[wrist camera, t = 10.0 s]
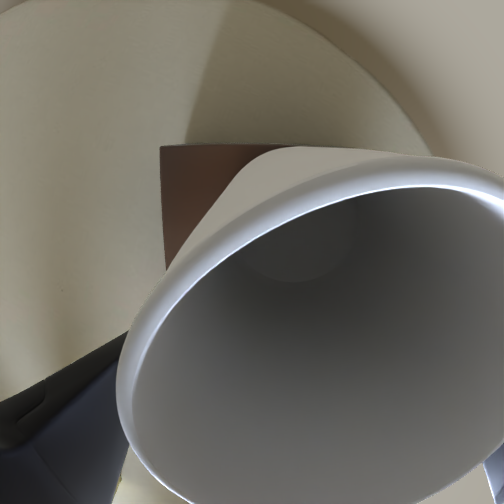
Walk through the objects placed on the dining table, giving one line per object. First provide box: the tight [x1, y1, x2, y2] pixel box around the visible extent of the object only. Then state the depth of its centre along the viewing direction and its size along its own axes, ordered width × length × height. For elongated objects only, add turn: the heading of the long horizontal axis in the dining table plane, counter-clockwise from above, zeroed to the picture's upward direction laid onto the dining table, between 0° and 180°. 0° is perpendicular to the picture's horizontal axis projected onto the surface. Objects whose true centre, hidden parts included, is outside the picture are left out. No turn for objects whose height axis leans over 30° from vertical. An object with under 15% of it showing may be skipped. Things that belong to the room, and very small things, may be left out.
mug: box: [116, 146, 504, 504], centre depth 10 cm, size 10×7×12 cm, turn 15°
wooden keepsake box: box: [160, 143, 354, 271], centre depth 18 cm, size 10×10×5 cm
